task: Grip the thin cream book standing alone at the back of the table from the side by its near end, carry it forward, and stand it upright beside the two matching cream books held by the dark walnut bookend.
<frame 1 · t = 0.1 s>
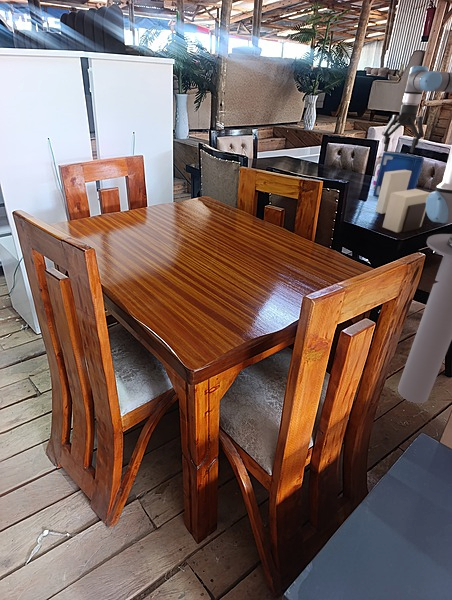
hand: (398, 152, 197), 29 cm above the table, tool pointing down, fingers open, 13 cm apart
cream book: (388, 210, 208), on the table
book: (392, 199, 229), on the table
supplement can: (378, 190, 247), on the table
book row: (401, 227, 186), on the table
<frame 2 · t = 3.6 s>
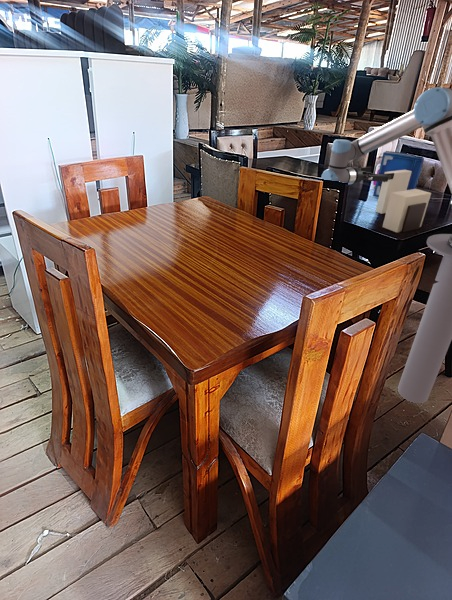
hand: (381, 172, 192), 20 cm above the table, tool horizontal, fingers open, 13 cm apart
nothing on the table moved.
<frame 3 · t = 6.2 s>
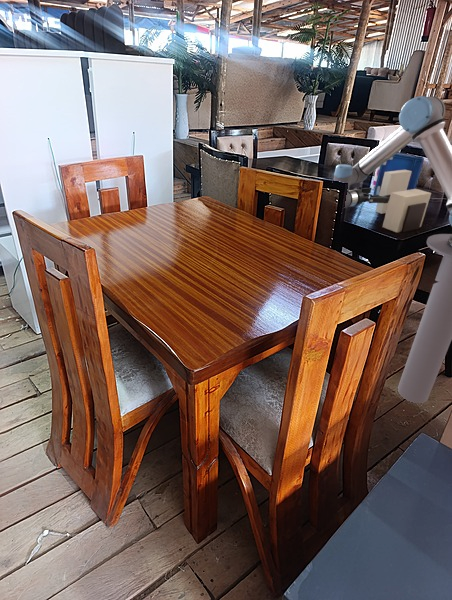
hand: (381, 193, 199), 10 cm above the table, tool horizontal, fingers open, 13 cm apart
nothing on the table moved.
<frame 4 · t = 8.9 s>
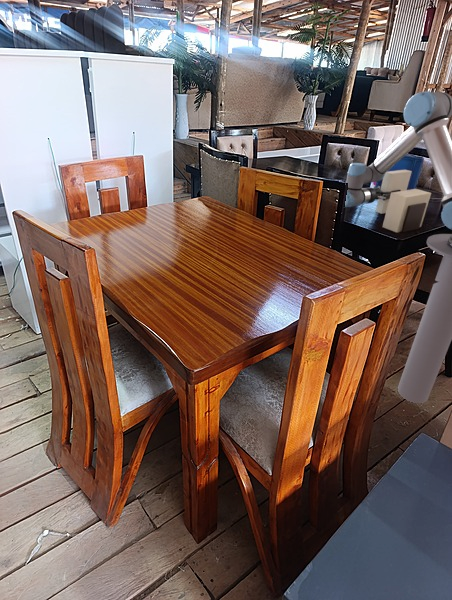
hand: (395, 191, 204), 10 cm above the table, tool horizontal, fingers closed on cream book, 4 cm apart
cream book: (388, 210, 208), on the table, touching gripper
everything else where it was.
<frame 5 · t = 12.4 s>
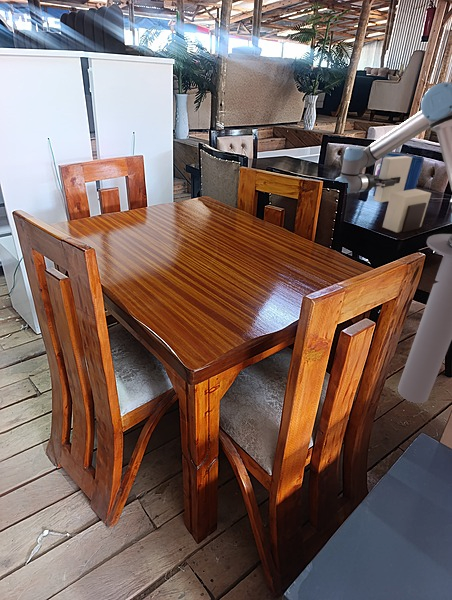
hand: (395, 178, 193), 18 cm above the table, tool horizontal, fingers closed on cream book, 4 cm apart
cream book: (387, 199, 197), point 8 cm above the table, touching gripper
everything else where it was.
when the fingers open (10 cm above the table, at t = 15.9 s): cream book stays where it is, on the table.
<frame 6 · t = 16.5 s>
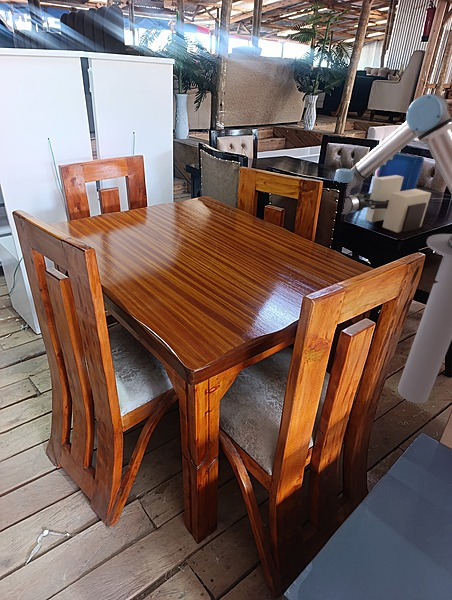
hand: (383, 198, 191), 10 cm above the table, tool horizontal, fingers open, 11 cm apart
cream book: (379, 218, 196), on the table
everything else where it was.
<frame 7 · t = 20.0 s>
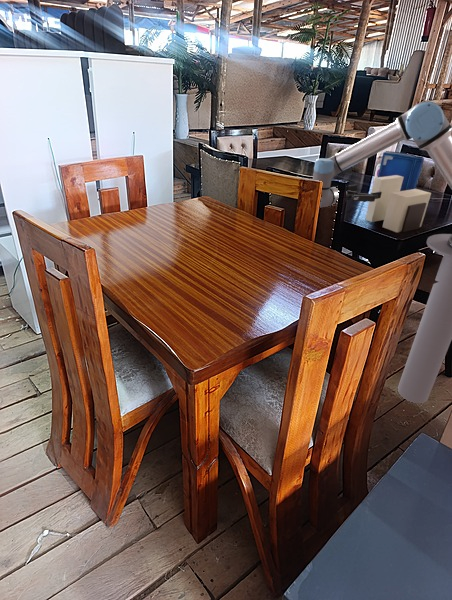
hand: (368, 191, 182), 15 cm above the table, tool horizontal, fingers open, 13 cm apart
nothing on the table moved.
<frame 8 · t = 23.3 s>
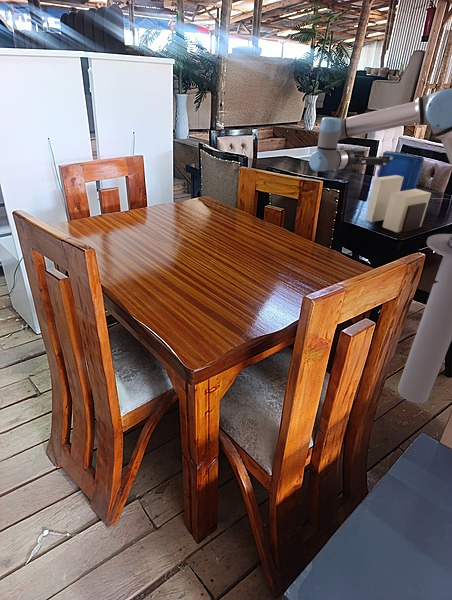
hand: (375, 156, 174), 30 cm above the table, tool horizontal, fingers open, 13 cm apart
nothing on the table moved.
at the end: cream book inside the target area on the table beside the book row (0.1 cm from its centre), on the table; cream book tilted 0°; the gripper is holding nothing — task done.
